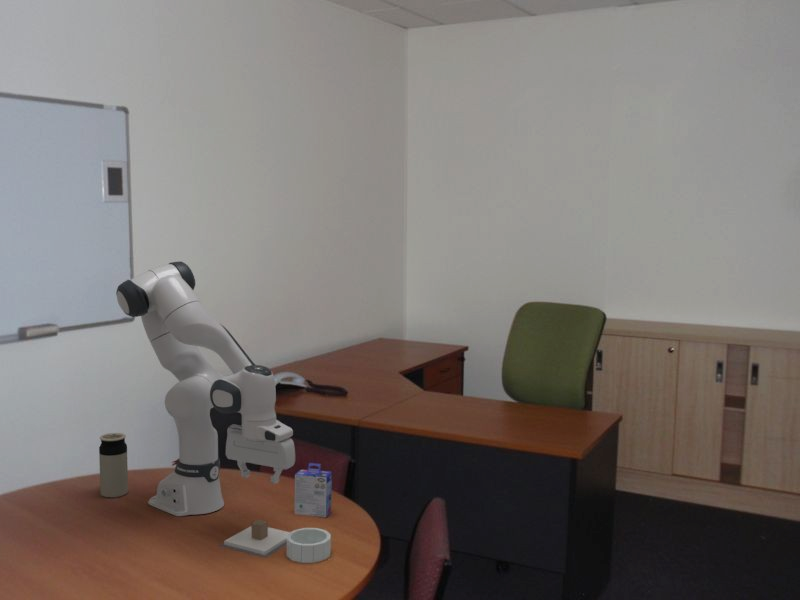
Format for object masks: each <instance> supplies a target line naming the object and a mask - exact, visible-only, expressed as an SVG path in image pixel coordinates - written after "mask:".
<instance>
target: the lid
mask: <svg viewBox="0 0 800 600" xmlns="http://www.w3.org/2000/svg"><path fill="white" fill-rule="evenodd" d="M268 524H269V523H268V521H266V520H261V519H256V520H255V521H254V522H251V525H250V526H249V527H247V528H245V529H243V530H241V531H239V532H237V533H236V534H234V535H232V536H230V537H229V538H227V539H225V540H223V542H224V545H228V546H232V547H235V548H239V549H243V550H247V551H251V552H254V553H258V554H262V555H266V554H268V553H269V552H271V551H272V550H274V549H276V548H277V547H279V546H281V545H282V544H284V543H285V542H287V535H288V534H289V533H290V532H291V531H286V530H283V529H282V530H281V529H277V528H273V527H270V526H269V525H268Z"/></svg>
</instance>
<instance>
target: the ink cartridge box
mask: <svg viewBox="0 0 800 600" xmlns="http://www.w3.org/2000/svg"><path fill="white" fill-rule="evenodd" d="M321 465H322V464H321V463H315V462H309V463H308V467H307V469H299V470H298V471H297V472H296V473H295V474H294V513H293V514H294V515H303V516H313V517H318V518H324V519H326V518H327V517H329V515H330V514H331V513H332V510H333V509H332V507H333V506H332V502H333V501H332V498H333V497H332V495H333V493H332V492H333V491H332V490H333V489H332V485H333V484H332V483H333V481H332V480H333V476H332V475H333V472H332V471H327V470H321V468H322V467H321ZM314 466H315V467H318V468H312V467H314Z"/></svg>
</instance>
